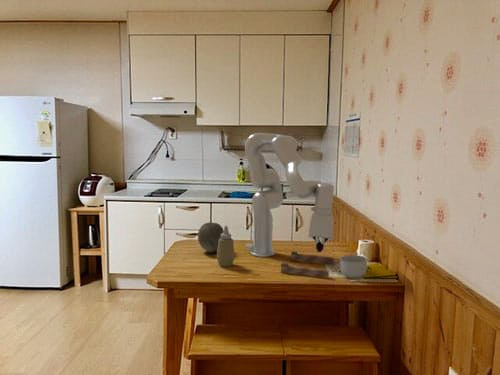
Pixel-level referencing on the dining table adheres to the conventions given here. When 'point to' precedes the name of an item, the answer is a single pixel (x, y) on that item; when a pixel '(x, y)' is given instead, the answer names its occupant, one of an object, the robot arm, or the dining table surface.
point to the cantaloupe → (210, 236)
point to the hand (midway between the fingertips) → (319, 251)
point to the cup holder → (304, 270)
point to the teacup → (353, 266)
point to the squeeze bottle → (225, 249)
